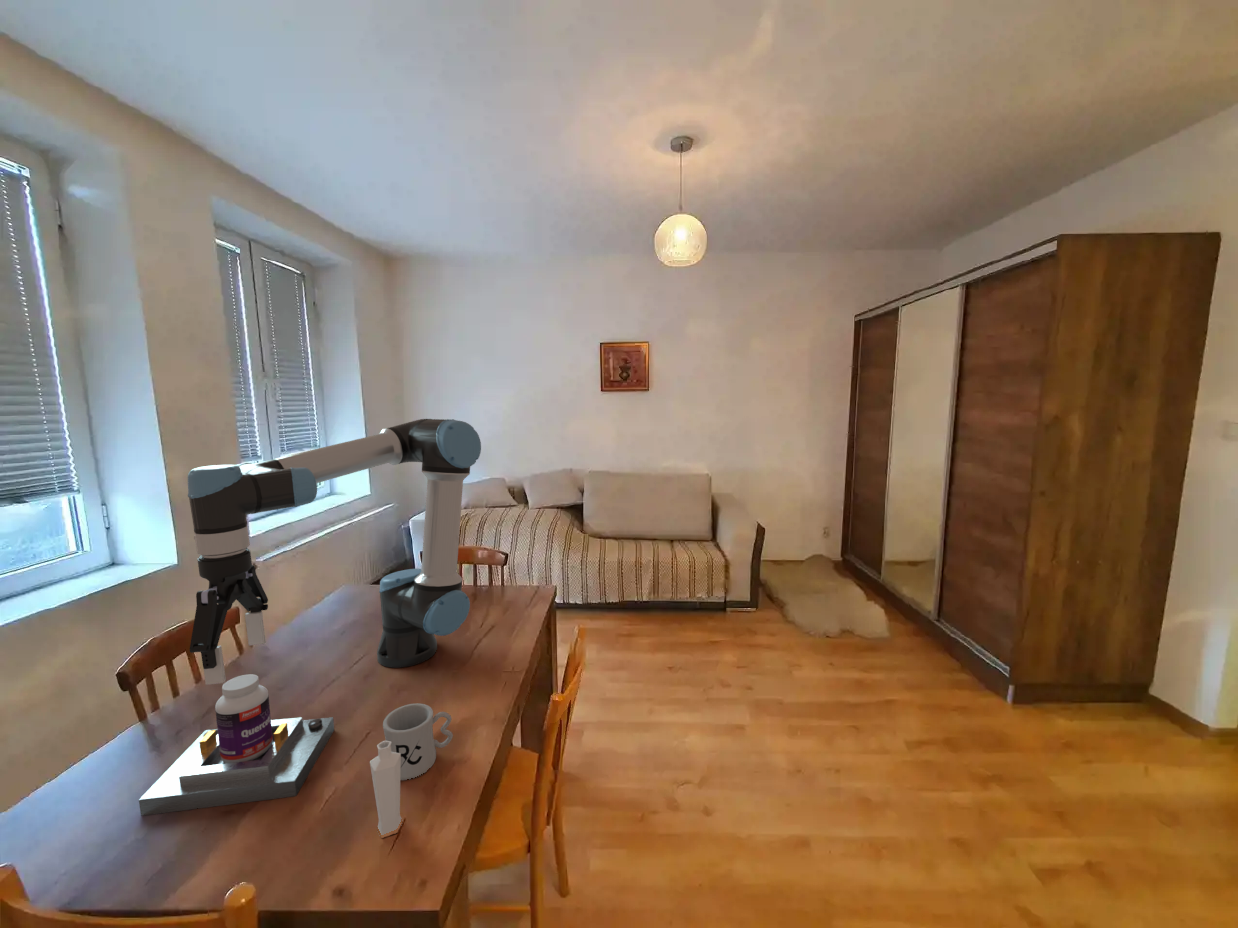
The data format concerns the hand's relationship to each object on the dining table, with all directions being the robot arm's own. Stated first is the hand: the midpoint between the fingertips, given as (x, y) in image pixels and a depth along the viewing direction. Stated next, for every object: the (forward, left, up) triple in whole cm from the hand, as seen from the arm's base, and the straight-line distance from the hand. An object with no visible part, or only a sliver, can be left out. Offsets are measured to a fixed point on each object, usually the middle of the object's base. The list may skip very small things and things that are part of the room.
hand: (238, 662), depth 94 cm
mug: (-32, +4, -22) cm, 39 cm away
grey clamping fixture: (0, 0, -22) cm, 22 cm away
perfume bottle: (-30, +19, -22) cm, 42 cm away
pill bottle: (0, 0, -19) cm, 19 cm away
